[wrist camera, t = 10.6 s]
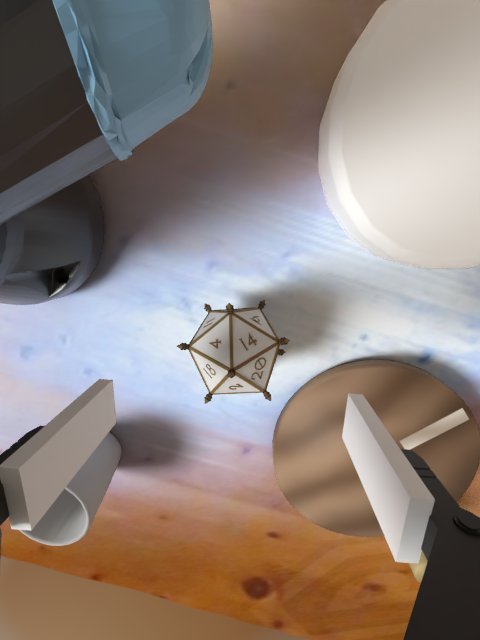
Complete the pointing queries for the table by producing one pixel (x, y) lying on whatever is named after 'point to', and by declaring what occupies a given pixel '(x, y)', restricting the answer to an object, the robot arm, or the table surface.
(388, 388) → the turntable
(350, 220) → the container
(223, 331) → the game die
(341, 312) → the table surface
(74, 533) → the cup
